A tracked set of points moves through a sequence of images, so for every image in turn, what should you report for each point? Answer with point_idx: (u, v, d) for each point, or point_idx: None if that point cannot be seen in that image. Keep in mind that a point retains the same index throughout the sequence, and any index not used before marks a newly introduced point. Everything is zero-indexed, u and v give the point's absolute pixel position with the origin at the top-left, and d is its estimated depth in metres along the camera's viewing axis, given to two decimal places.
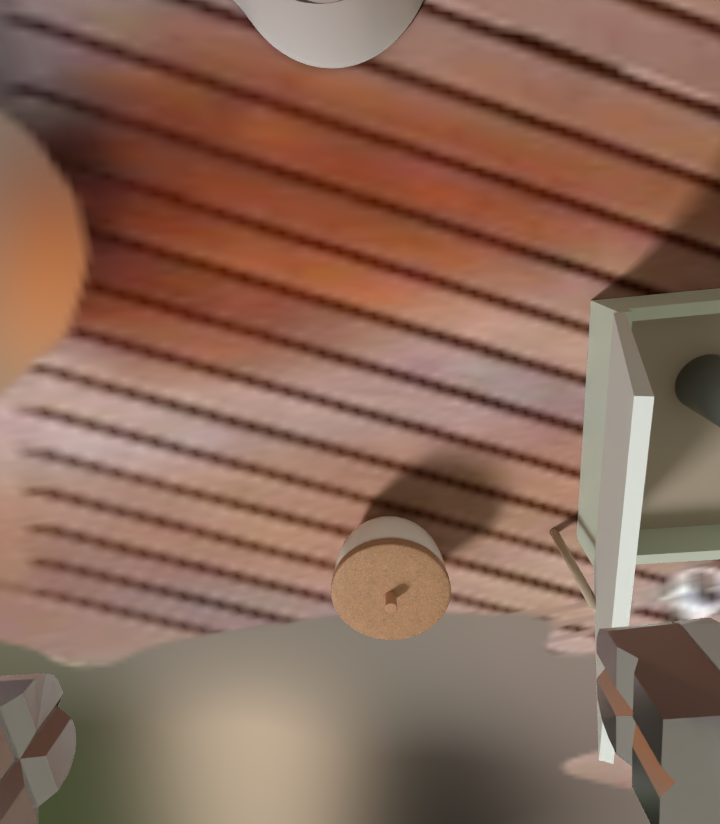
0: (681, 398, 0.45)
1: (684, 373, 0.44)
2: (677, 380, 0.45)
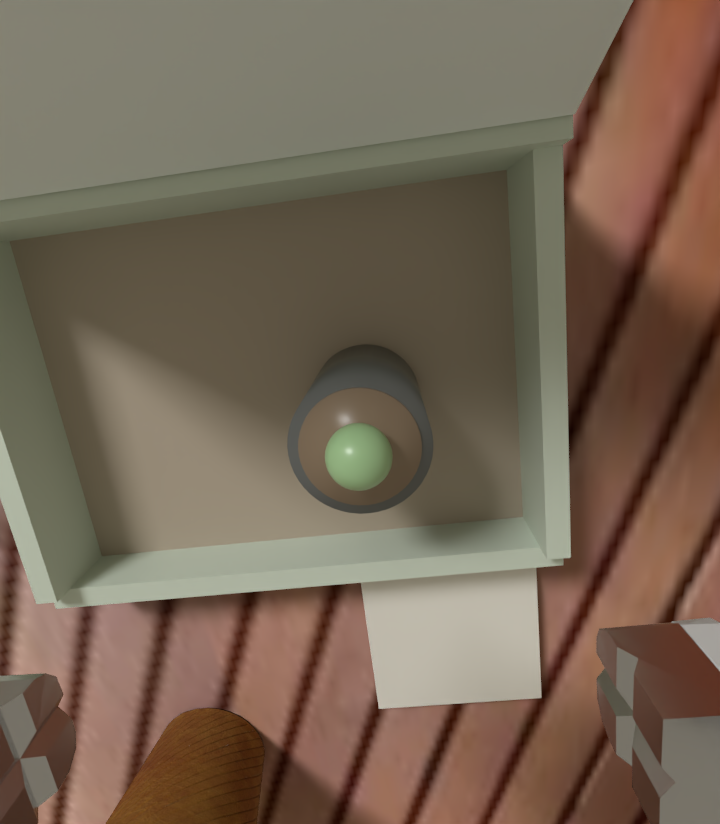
0: (336, 355, 0.23)
1: (386, 350, 0.23)
2: (368, 345, 0.23)
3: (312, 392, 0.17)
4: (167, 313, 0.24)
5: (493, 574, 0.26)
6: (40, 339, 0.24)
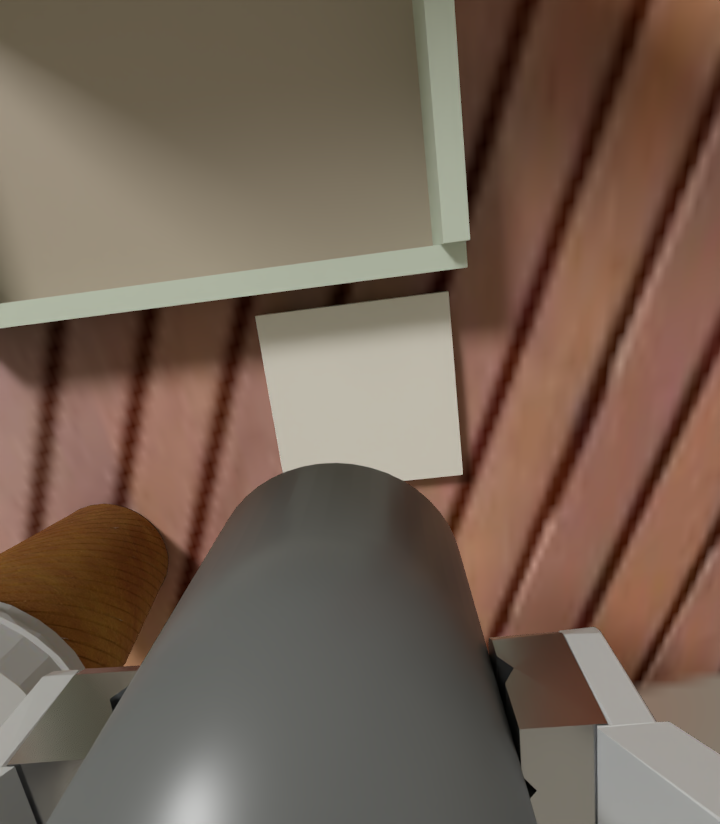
0: (258, 499, 0.09)
1: (385, 486, 0.09)
2: (341, 467, 0.10)
3: None
4: None
5: (403, 319, 0.24)
6: None
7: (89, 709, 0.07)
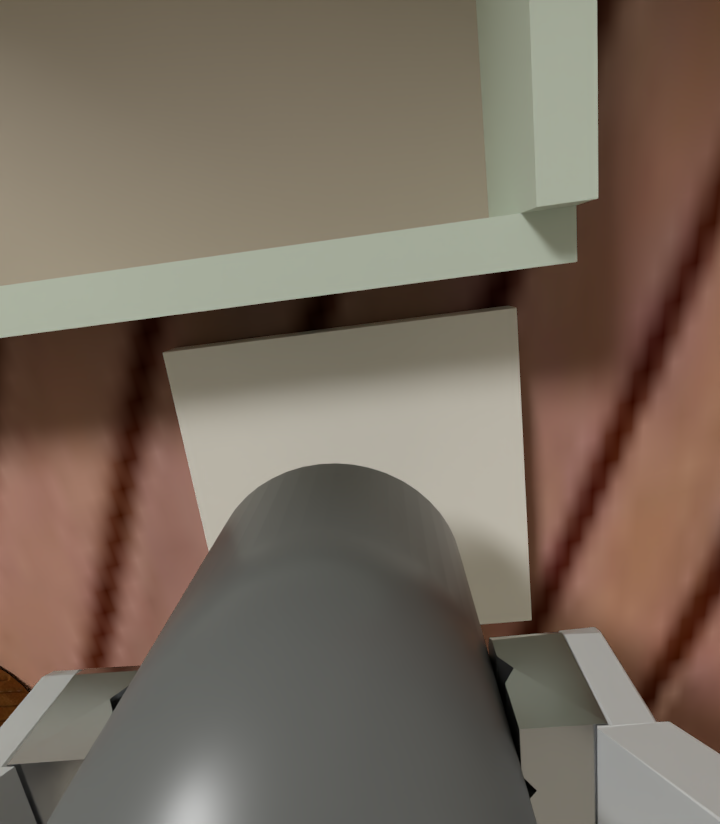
0: (257, 499, 0.09)
1: (384, 487, 0.09)
2: (341, 468, 0.10)
3: None
4: None
5: (431, 358, 0.13)
6: None
7: (89, 709, 0.07)
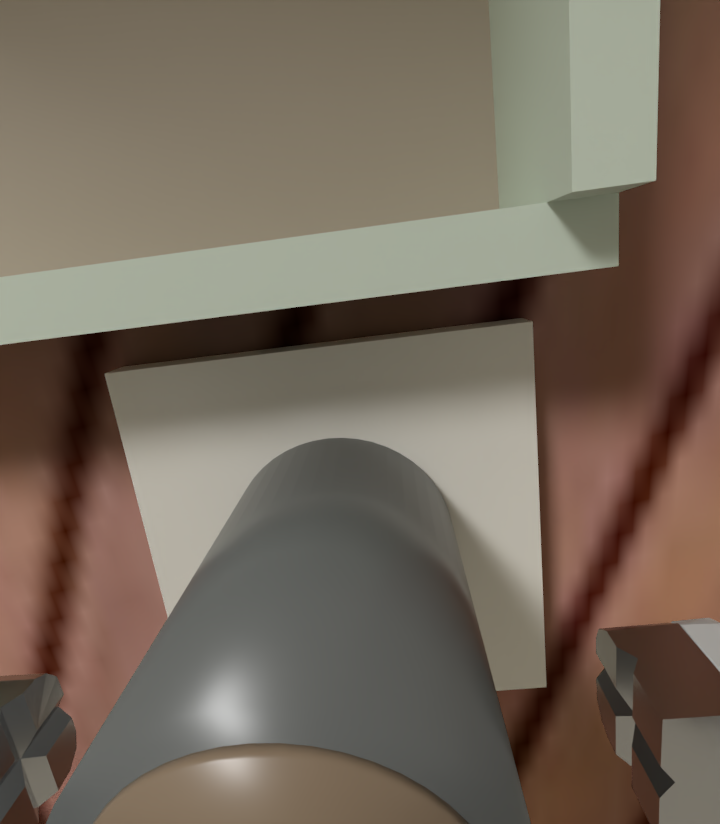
0: (274, 467, 0.10)
1: (385, 457, 0.10)
2: (346, 441, 0.11)
3: (107, 750, 0.05)
4: None
5: (429, 381, 0.11)
6: None
7: None
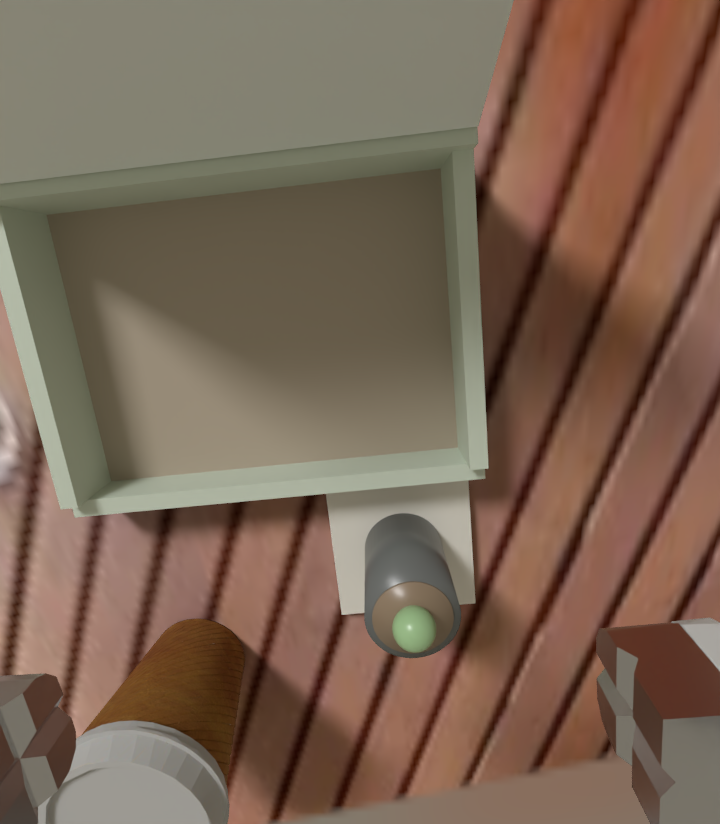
0: (384, 524, 0.32)
1: (420, 520, 0.32)
2: (406, 514, 0.33)
3: (383, 583, 0.26)
4: (173, 276, 0.29)
5: (434, 495, 0.32)
6: (67, 295, 0.30)
7: None
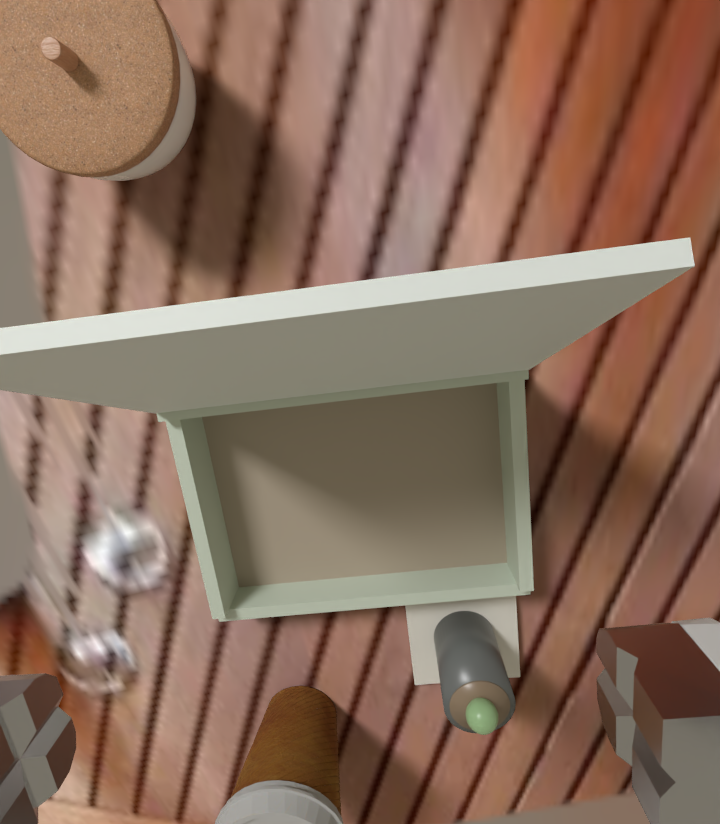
0: (450, 621, 0.42)
1: (478, 618, 0.42)
2: (467, 612, 0.42)
3: (458, 681, 0.36)
4: (291, 442, 0.39)
5: (488, 598, 0.42)
6: (211, 456, 0.40)
7: None
